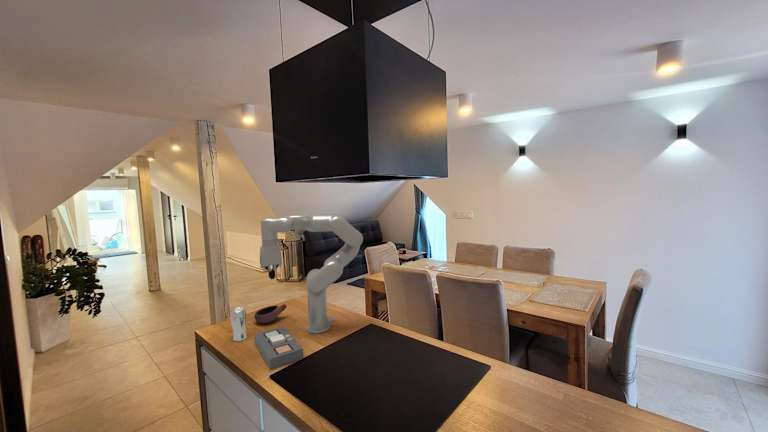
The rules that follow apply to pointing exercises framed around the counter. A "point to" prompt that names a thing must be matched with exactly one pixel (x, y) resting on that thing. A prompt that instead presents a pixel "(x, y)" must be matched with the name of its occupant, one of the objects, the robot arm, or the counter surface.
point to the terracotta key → (282, 349)
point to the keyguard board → (269, 351)
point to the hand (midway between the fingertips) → (272, 278)
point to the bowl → (269, 313)
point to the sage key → (271, 334)
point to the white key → (277, 340)
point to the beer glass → (238, 323)
